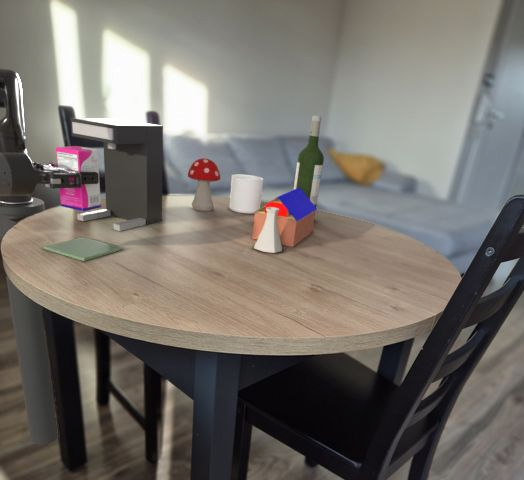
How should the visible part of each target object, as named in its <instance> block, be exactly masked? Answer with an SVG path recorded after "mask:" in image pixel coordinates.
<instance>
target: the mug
mask: <svg viewBox="0 0 524 480" xmlns="http://www.w3.org/2000/svg"><path fill="white" fill-rule="evenodd" d="M263 184H264V178H263V177H261V176H258V175H253V174H252V175H251V174H243V173H236V174H235V173H234V174H231V181H230V195H229V208H228V209H229V210H231V211H233V212H236V213H239V214H249V215H250V214H255V213H254V212H255V211H257V210H258V209H260V208H261V205H262V195H263Z"/></svg>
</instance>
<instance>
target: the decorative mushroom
mask: <svg viewBox="0 0 524 480" xmlns="http://www.w3.org/2000/svg"><path fill="white" fill-rule="evenodd" d="M187 177H188V178H189V179H191V180H194V181H197V186H196V188H195V193H194V198H193V200H192V201H191V207H192V209H193V210H196V211H203V212H211V211H213V209H214V206H215V205H214V201H213V199H212V198H213V197H212V190H211V182H212V183H213V182H218V181H221V173H220V170H219V167H218V166H217V164H216V162H214V161H213V160H211V159H209V158H207V157H206V158H205V157H203V158H202V157H201V158H198V159H196V160H195V161H194V162H192V164H191V165H190V168H189V170H188V172H187Z"/></svg>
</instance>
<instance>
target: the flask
mask: <svg viewBox="0 0 524 480" xmlns="http://www.w3.org/2000/svg"><path fill="white" fill-rule="evenodd" d="M266 211H267V217H266V220H265V224H264V226H263V228H262V231H261V233H260V235H259V237H258V239H256V241H255V244H254V246H253V249H255V250H258V251H260V252H264V253H272V254H276V253H279V252H283V251H282V250H283V245H281V241H280V236H279V231H278V226H277V213H278V212H279V209H278V208H274V207H267V208H266Z"/></svg>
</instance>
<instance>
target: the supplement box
mask: <svg viewBox="0 0 524 480" xmlns="http://www.w3.org/2000/svg"><path fill="white" fill-rule="evenodd" d="M55 157H56V163H57V167H64V168H67V170H68V171H78V172H97V173H98V179H99V180H100V168H99V167H100V166H99V150H98V149H97V148H90V147H86V146H85V147H84V146H80V145H79V146H78V145H70V146H67V145H66V146H56V147H55ZM61 173H62V172H61ZM69 181H72V182H74V177H70V178H69ZM58 189H59V198H60V206H61V207H62V208H67V209H71V210H75V211H79V212H88V211H92V210H97V209H101V208H102V202H101V201H102V200H101V186H100V181H99V182H98V184H82V187H81V188H58Z"/></svg>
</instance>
